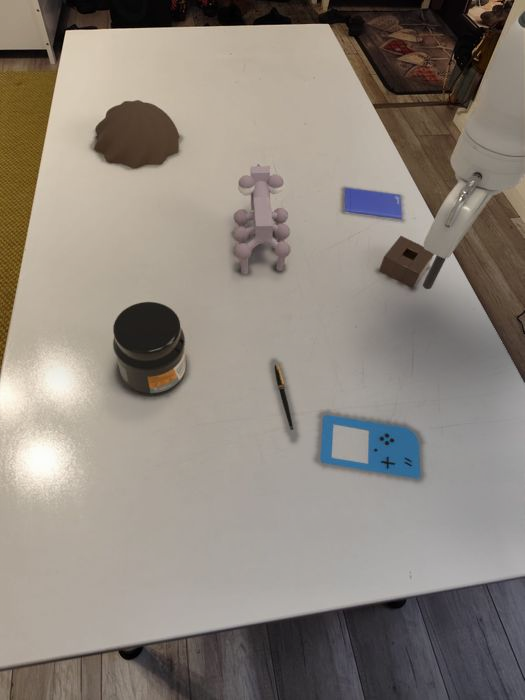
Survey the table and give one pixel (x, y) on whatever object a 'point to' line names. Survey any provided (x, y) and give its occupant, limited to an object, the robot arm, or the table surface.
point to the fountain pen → (283, 394)
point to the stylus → (433, 272)
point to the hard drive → (373, 203)
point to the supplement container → (149, 348)
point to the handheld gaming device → (376, 447)
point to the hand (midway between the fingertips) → (448, 242)
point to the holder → (406, 262)
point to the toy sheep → (261, 217)
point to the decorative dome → (136, 135)
